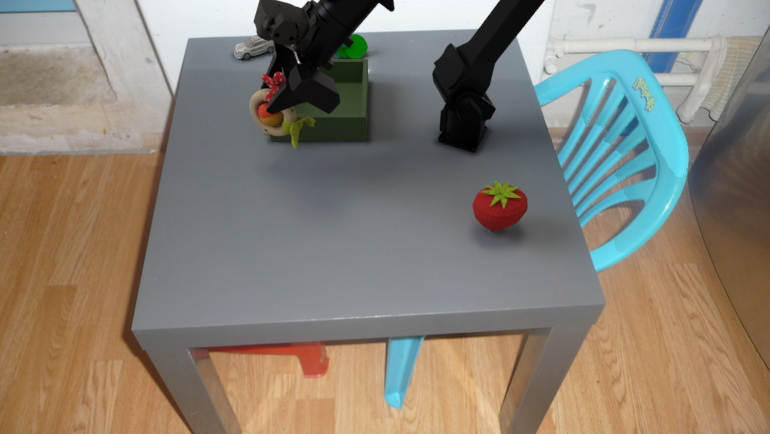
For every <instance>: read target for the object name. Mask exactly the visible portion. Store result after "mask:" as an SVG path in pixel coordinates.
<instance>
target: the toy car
mask: <svg viewBox="0 0 770 434" xmlns="http://www.w3.org/2000/svg"><path fill="white" fill-rule="evenodd" d="M267 52H268V54H271V53H274V45H273V41H272V40H270V41H267V40H264V39H262V38H260V37H259V36H258V35H257V34H254V35H251V36H249V37H247V38H246V39H245V40H244V41H241V42H239V43H237V44H236V45H235V47H234V52H233V54H234V56H235V58H236V59H238V60H241V59H244V60H246V61H247V60H248V61H249V59H251V57H255V56H258V55H262V54H264V53H267Z"/></svg>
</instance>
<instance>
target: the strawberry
mask: <svg viewBox="0 0 770 434" xmlns="http://www.w3.org/2000/svg"><path fill="white" fill-rule="evenodd" d="M505 181H506V182H505V183H504V184H501V183H500V182H498V181H497V180H496V179H494V178H493V182H494V185H489V184H485V188H483V189H481V190H480V191H478V193H477V194H475V197H474V199H473V202H472V206H471V207H472V211H473V214H474V218H475V220H476V221H477V222H478V223H479V224H480V225H481V226H482V227H484V228H485V229H487V230H489V231H491V232H493V233H495V232H498V231H503V230H505V229H507V228H510V227H512V226H514V225H516V224H518V223H519V222H520V221H521V219H522V218H523V217H524V216H525V214H526V213H527V211H528V208H529V200H528V197H527V195H526V193H524V192H523V190H521V189H520V188H521V186H513V185H510V184H509V180H505Z"/></svg>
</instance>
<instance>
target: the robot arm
mask: <svg viewBox="0 0 770 434" xmlns="http://www.w3.org/2000/svg"><path fill="white" fill-rule="evenodd" d="M545 1H546V0H499V1H498V2H497V3H496V4H495V6H494V7H493V8H492V10H491V11H490V12H489V14H488V15H487V17H486V18H485V19H484V20H483V22H482V23H481V25H480V26H479V27H478V28H477V30H476V31H475V32H474V34H473V35H472V37H471V38H470V39H469V40H468V41H467V42H465V43H461V44H459V45H458V46H455V45H454V44H453V43H452V42H450V43H449V44H447V46H446V47H445V48H444V50H443V52H442V54H441V55H440V56H439V58H438V59H436V60H435V61H434V62H433V65H434V68H433V70H432V73H431V76H432V82H433V84H434V86H435V88H436V90H437V91H438V93H439V95H440V97H441V98H442V100H443V102H444V103H445V104H444V105H443V107H442V109H441V110H440V115H439V126H438V131H439V132H440V134H439V135H438V137H437V142H438V143H441V144H444V145H447V146H451V147H454V148H457V149H460V150H464V151H467V152H469V153H476V152H477V150H478V148H479V147H480V144H481V143H482V142H483V139H484V137H485V135H486V133H487V131H488V126H487V125H486V123H487V121H490V120H491V119H492V117H493V116H494V114H495V112H496V110H497V108H496V106H495V105H494V103H493V102H492V100H491V98H490V97H489V95H488V94H487V91H488V90H489V88H490V86H491V83H492V78H493V75H494V71H495V67H496V63H497V62H498V60H499V59H500V58H501V57H502V55H503V54H504V53H505V52H506V50H507V49H508V48H509V46H511V44H512V43H513V42H514V40H515V39H516V38H517V36H519V34H520V33H521V31H522V30H523V29H524V28H525V27H526V25H527V24H528V23H529V21H530V20H531V19H532V18H533V16H535V14H536V13H537V11H538V10H539V9H540V7H541V6H542V5H543V4H544V2H545ZM378 5H380V6H382V7H383V8H384V9H386V10H387V11H388V12H390V13H393V12H394V11H395V9H396V7H395V0H318V1H315V0H307V1H306V2H305V3H304V5H302V7H299V6H297V5H294V4H293V3H289V2H285V1H281V0H258V4H257V7H256V11H255V14H254V18H253V24H254V26H255V30H256V35H258V36H259V37H260V38H262V39H264V40H267V41H270V40H272V41H273V45H274V51H273V54H272V57H271V60H270V63H269V66H268V68H267V70H266V72H265V74H266V75H268V76H269V77H271V78H273V77H274V74H275V73H276V72H282V73H283V79H284V80H283V82H282V84H281V86H280V87H279V89H278V90H277V92H276V93H275V95H274V96H273V98H272V99H271V101H270V103H269V104H268V106H267V108H266V112H268V113H270V114H275V113H277V112H280V111H283V110H285V109H288V108H291V107H293V106H296V105H299V104H302V103H305V102H308V103H309V104H311V105H313V106H315V107H317V108H318V109H320V110H322V111H324V112H326V113H328V114H330V113H332V112H333V111H334V110H335V108H336V107H337V106H338V105H339V104H340V95H339V92H338V90H337V87H336V85H335V82H334V80H333V79H332V78H331V77H329V76H327V75H326V74H324V73H322V72H321V71H319V69H318V68H320V67H321V66H322V67H323V68H325V69H326V70H328V71H330V70H331V68H332V67H333V66H334V65H333V62H332V60H331V59H333V57H334V56H336V55H335V54H336V52H337V51H338V50H339V49H340V48H341V47H342V46H343V44H344V45H346V46H347V47H348V48H350V47H351V45H352V44H353V43H354V41H353V38H352V36H351V35H352V34H355V32H356V31H357V29H358V28H359V27H360V26H361V24H362V23H364V21H365V20H366V19H367V18H368V17H369V16H370V15H371V13H372V12H373V11H374V10H375V9H376V7H377V6H378ZM261 89H271V88H270V87H269V86H268V85H267V84H266V83H265V82H264V81H263V80H262V83H261V86H260V90H261Z"/></svg>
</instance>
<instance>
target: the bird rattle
mask: <svg viewBox="0 0 770 434" xmlns="http://www.w3.org/2000/svg"><path fill="white" fill-rule="evenodd" d="M260 78H261V80H262V82H263V81H264V82H265V83H266V84H267V85H268V86H269V87H270V88H271V89H261V88H260V89H259V90H257V91H255V92H254V93H253V94H252V96H251V98H250V100H249V112H250V114H251V117H252V119H253V121H254V122H255V123H256V125H257V126H258V127H259V128H260V129H261V131H262V133H263V135H264V136H270V135H274V136H284V135H287V134H291V136H292V141H291V146H292V147H293V148H294V149H297V148H298V146H299V141H298V137H299V130H300V129H301V128H302V126H303V124H304V122H306V124H307V125H308V126H311V127H314V123H315V120H314V119H313V118H311V117H304V118H301V119H300V120H297V115H296V111H295V109H294V107H291V108H288V109H285V110H283V111H280V112H277V113H275V114H270V113H268V112H266V108H267V106H268V104H269V103H270V101H271V99H272V98H273V96H274V95H275V93H276V92H277V90H278V89H279V87H280V86H281V84H282V82H283V80H284V79H283V73H282V72H276V73H275V74H274V77H273V78H271V77H269V76H268V75H266V73H262V74H261V75H260ZM283 116H284V120H283V123H282V125H278V124H279V123H280V122H281V121H282V119H283Z"/></svg>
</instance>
